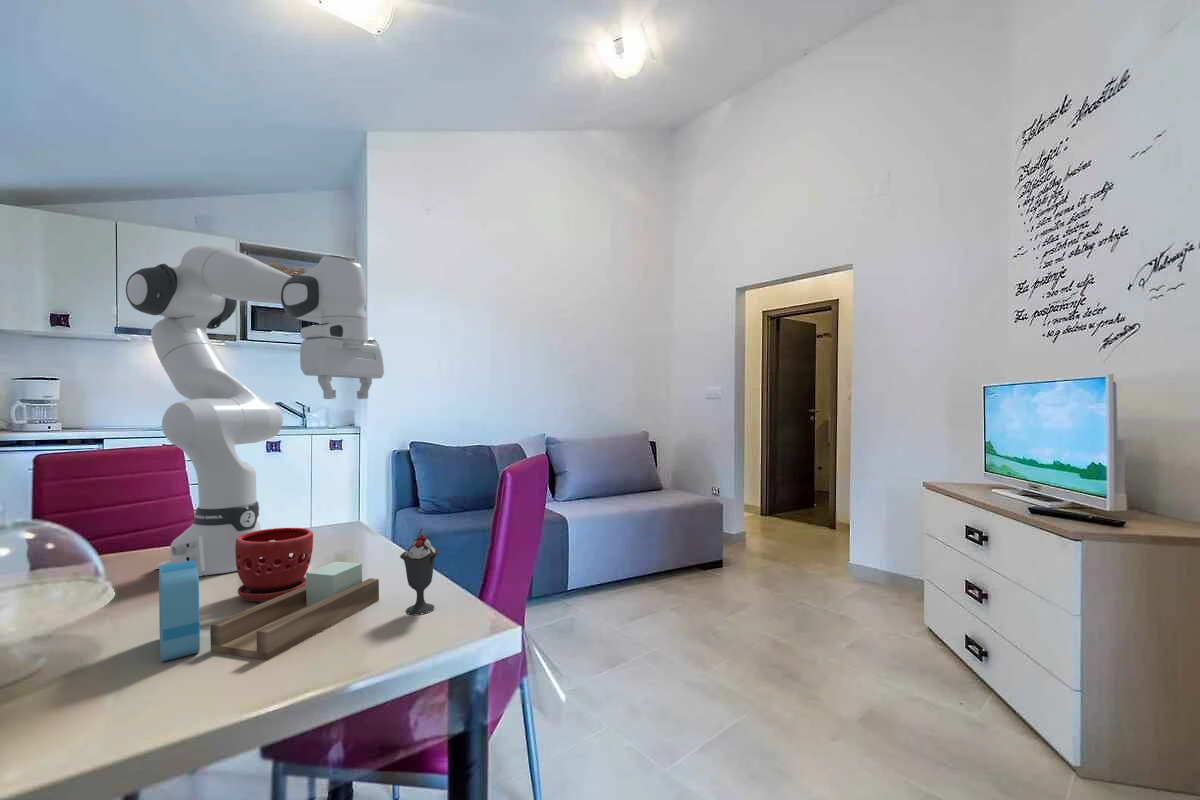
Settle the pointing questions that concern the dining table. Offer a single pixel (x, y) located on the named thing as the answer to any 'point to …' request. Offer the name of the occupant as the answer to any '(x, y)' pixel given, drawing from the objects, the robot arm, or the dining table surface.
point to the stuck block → (331, 580)
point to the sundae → (419, 571)
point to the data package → (178, 610)
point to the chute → (287, 621)
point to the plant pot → (272, 562)
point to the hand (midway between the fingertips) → (346, 398)
